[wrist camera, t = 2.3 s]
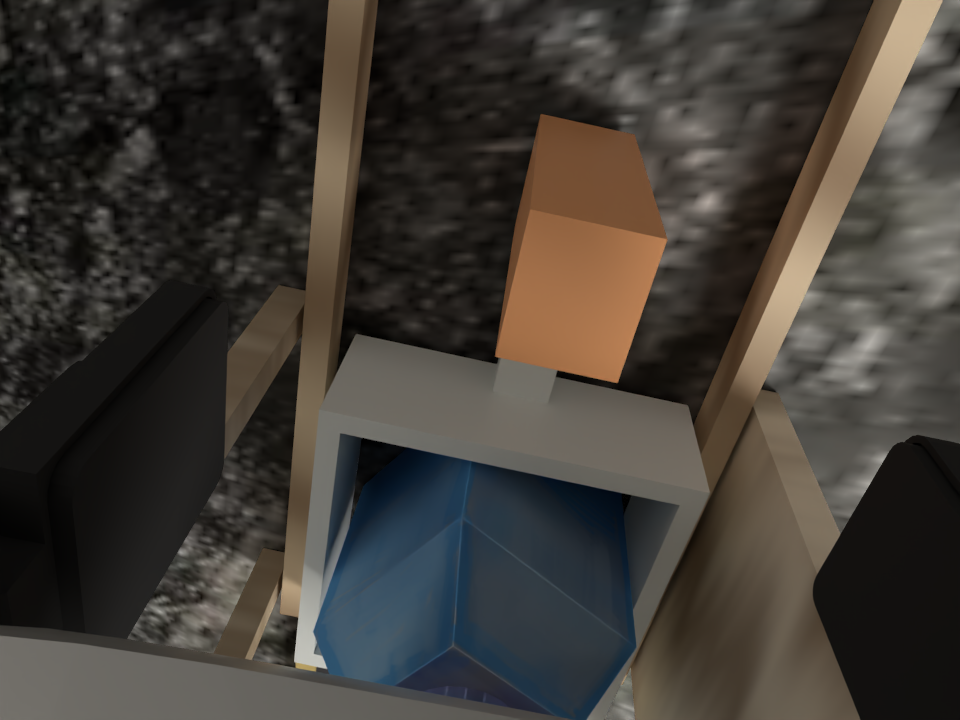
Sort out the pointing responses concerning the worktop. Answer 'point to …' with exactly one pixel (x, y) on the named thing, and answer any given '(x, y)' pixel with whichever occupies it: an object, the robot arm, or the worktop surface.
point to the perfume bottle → (482, 587)
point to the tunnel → (694, 587)
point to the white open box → (534, 377)
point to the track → (767, 311)
